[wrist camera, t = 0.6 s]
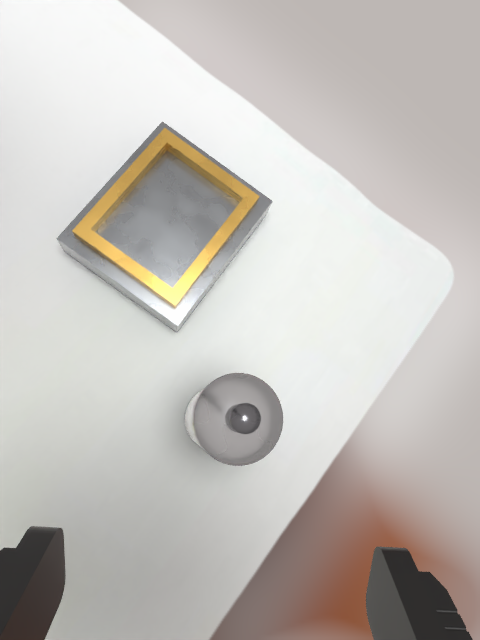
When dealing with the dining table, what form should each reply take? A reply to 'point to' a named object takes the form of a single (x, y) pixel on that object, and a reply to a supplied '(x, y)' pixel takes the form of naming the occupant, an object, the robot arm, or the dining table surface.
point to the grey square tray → (166, 226)
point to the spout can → (235, 419)
